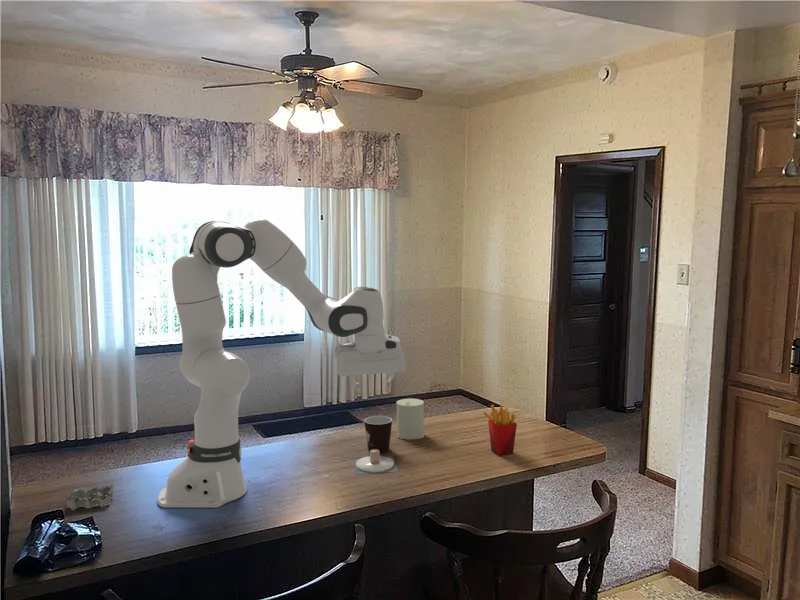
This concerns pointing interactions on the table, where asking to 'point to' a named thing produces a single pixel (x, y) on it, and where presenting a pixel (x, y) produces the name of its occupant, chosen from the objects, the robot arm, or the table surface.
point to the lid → (375, 462)
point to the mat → (374, 472)
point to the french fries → (501, 431)
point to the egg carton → (81, 495)
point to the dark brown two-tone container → (378, 433)
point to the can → (410, 419)
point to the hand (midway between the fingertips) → (372, 387)
